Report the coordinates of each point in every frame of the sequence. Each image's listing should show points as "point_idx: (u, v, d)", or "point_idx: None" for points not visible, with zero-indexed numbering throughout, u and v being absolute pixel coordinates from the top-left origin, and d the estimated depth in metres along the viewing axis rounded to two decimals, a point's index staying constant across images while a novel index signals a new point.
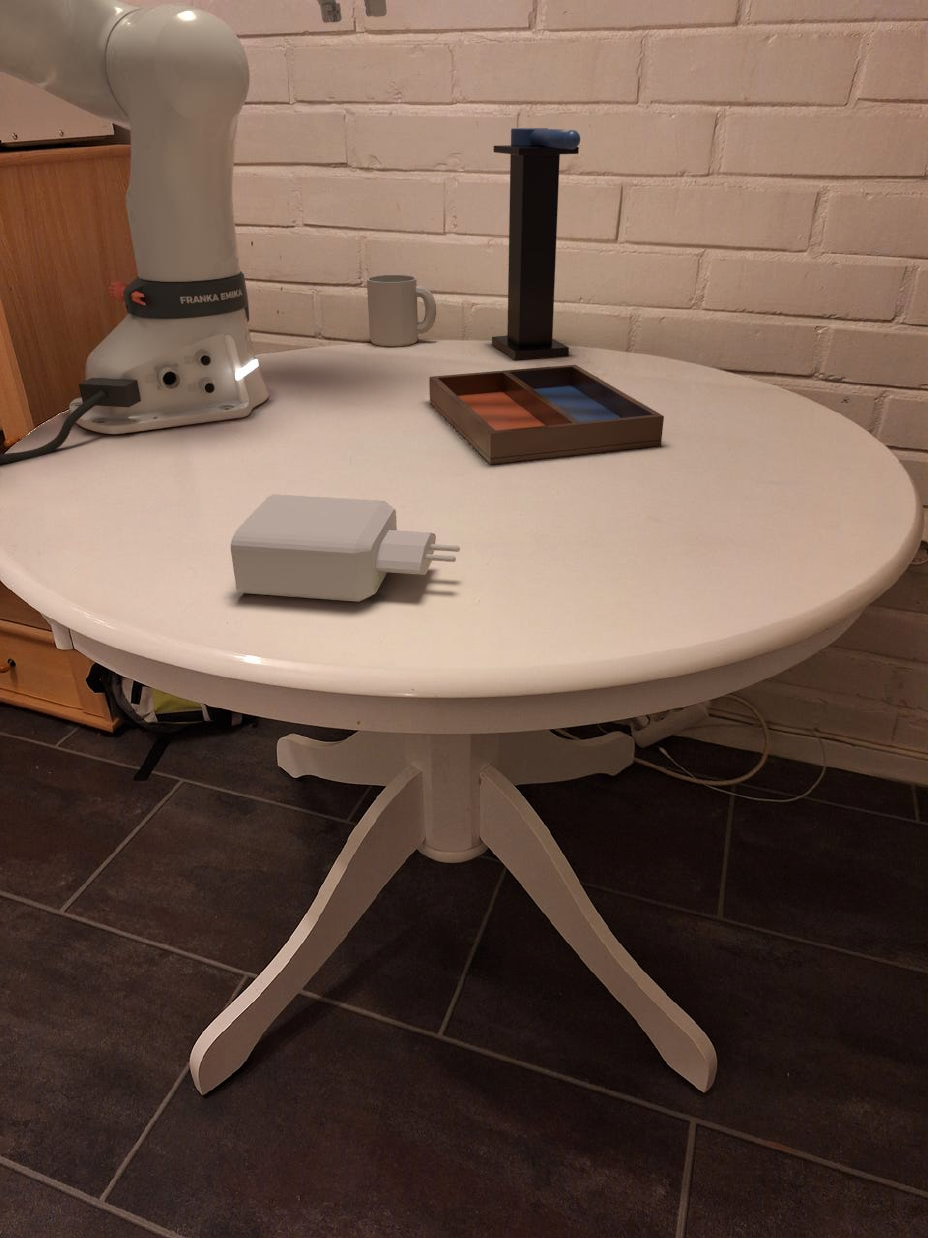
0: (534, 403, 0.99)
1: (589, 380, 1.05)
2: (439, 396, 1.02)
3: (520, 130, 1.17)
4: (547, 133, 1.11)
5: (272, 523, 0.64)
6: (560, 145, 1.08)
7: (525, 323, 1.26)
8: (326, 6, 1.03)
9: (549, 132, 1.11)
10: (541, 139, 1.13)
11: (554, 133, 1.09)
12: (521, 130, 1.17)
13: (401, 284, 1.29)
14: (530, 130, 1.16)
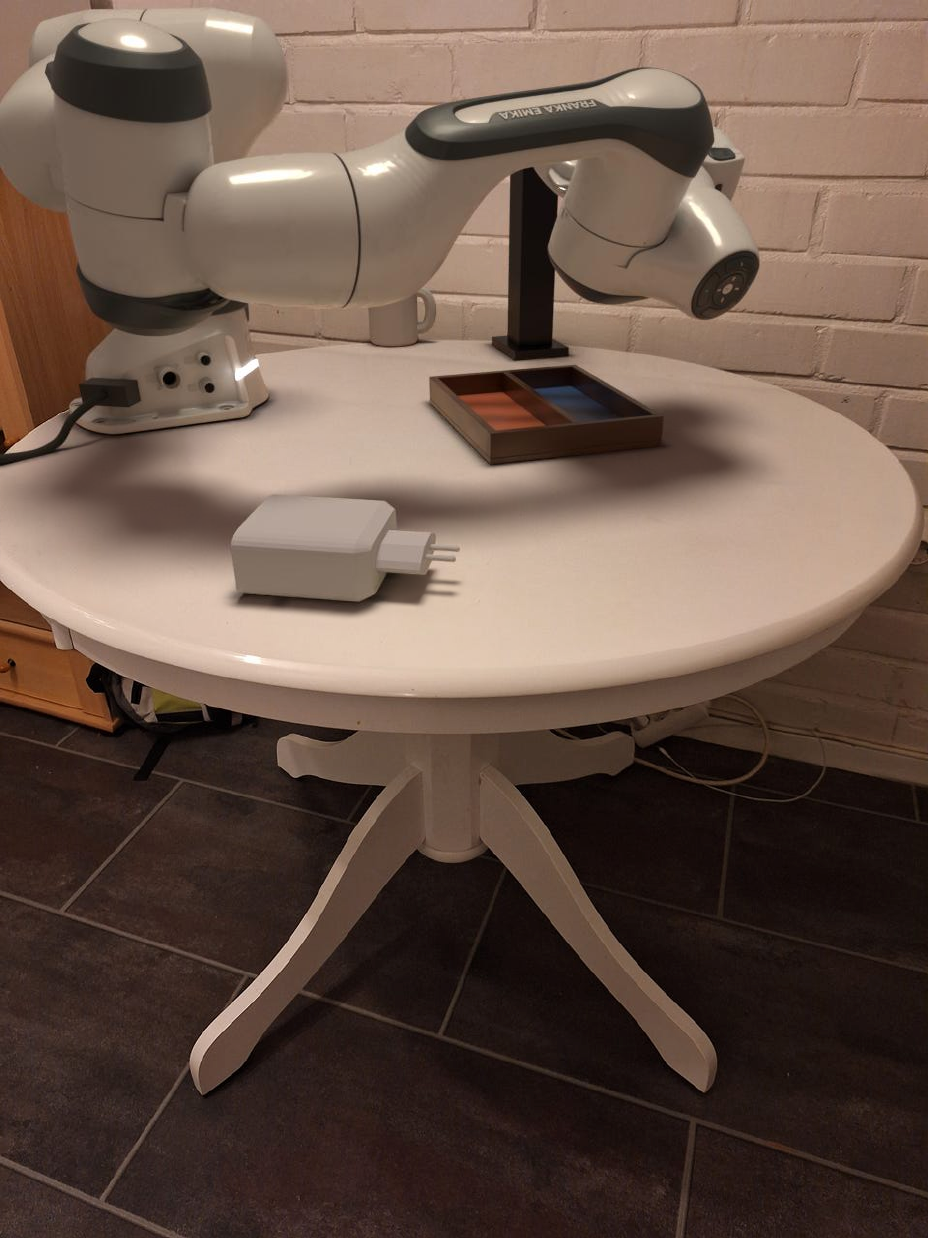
0: (534, 403, 0.99)
1: (589, 380, 1.05)
2: (439, 396, 1.02)
3: None
4: None
5: (272, 523, 0.64)
6: None
7: (525, 323, 1.26)
8: None
9: None
10: None
11: None
12: None
13: None
14: None
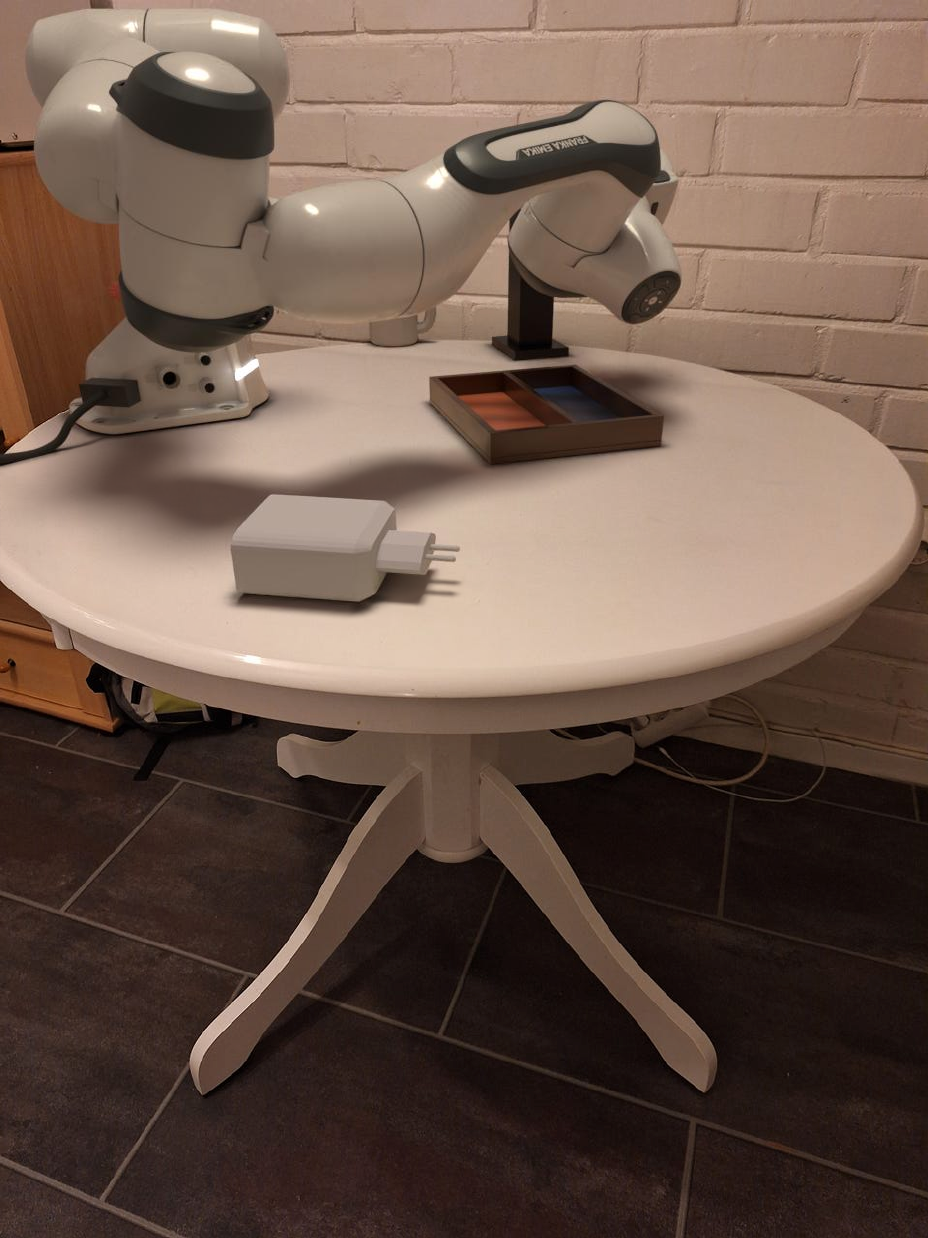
0: (534, 403, 0.99)
1: (589, 380, 1.05)
2: (439, 396, 1.02)
3: None
4: None
5: (272, 523, 0.64)
6: None
7: (525, 323, 1.26)
8: None
9: None
10: None
11: None
12: None
13: None
14: None
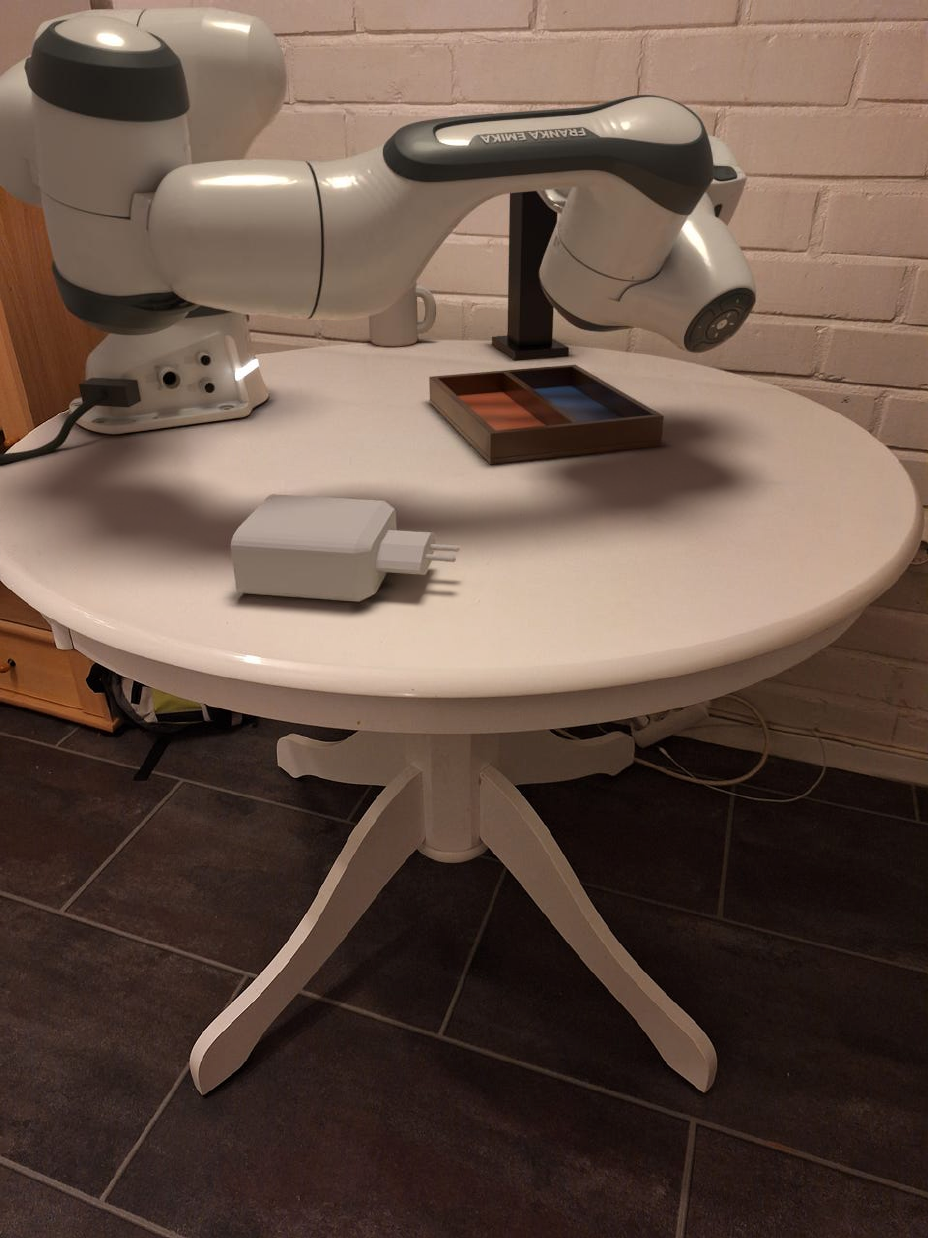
0: (534, 403, 0.99)
1: (589, 380, 1.05)
2: (439, 396, 1.02)
3: None
4: None
5: (272, 523, 0.64)
6: None
7: (525, 323, 1.26)
8: None
9: None
10: None
11: None
12: None
13: None
14: None
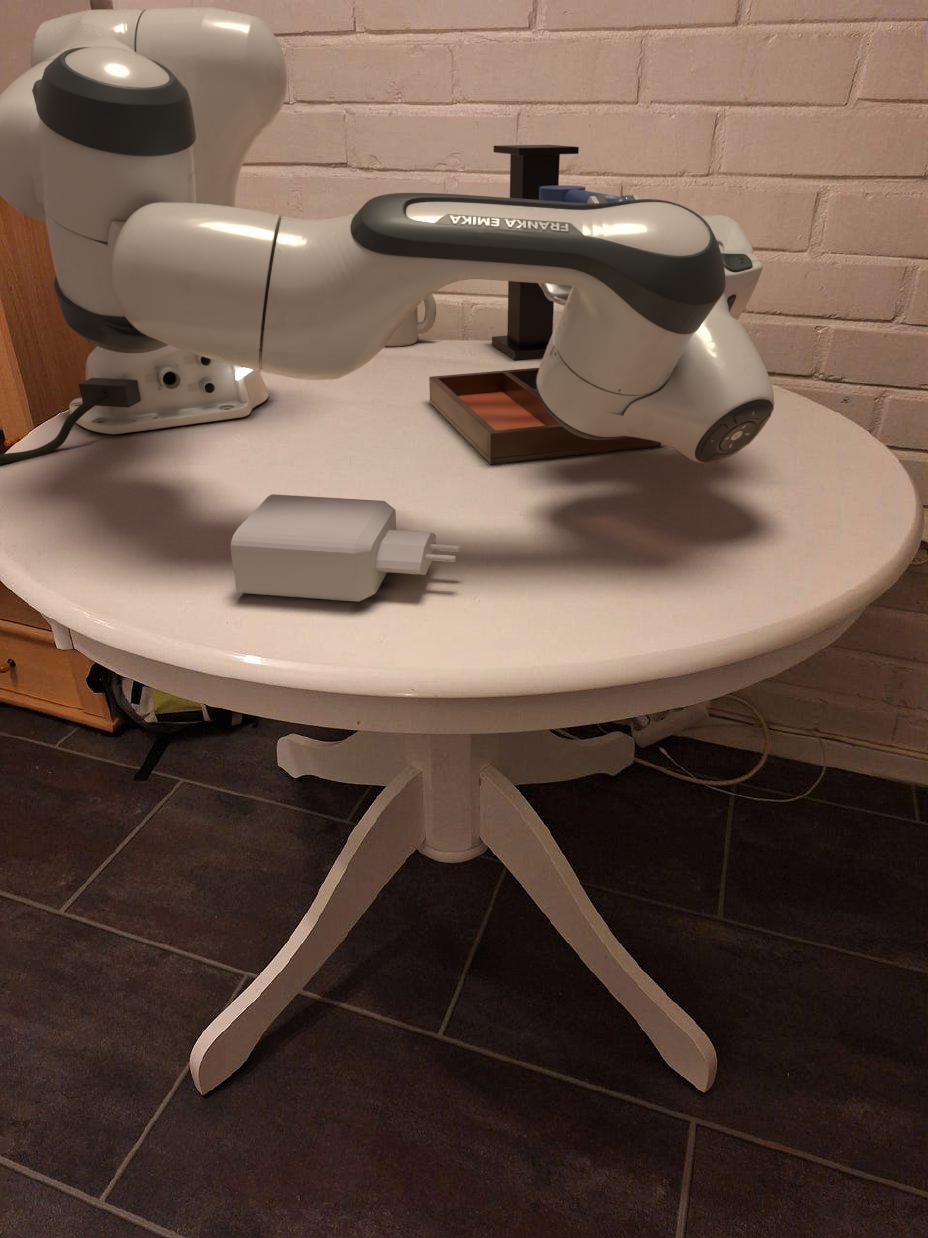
0: (534, 403, 0.99)
1: None
2: (439, 396, 1.02)
3: (551, 190, 0.93)
4: None
5: (272, 523, 0.64)
6: None
7: (525, 323, 1.26)
8: None
9: None
10: None
11: None
12: (552, 190, 0.93)
13: None
14: (564, 190, 0.93)
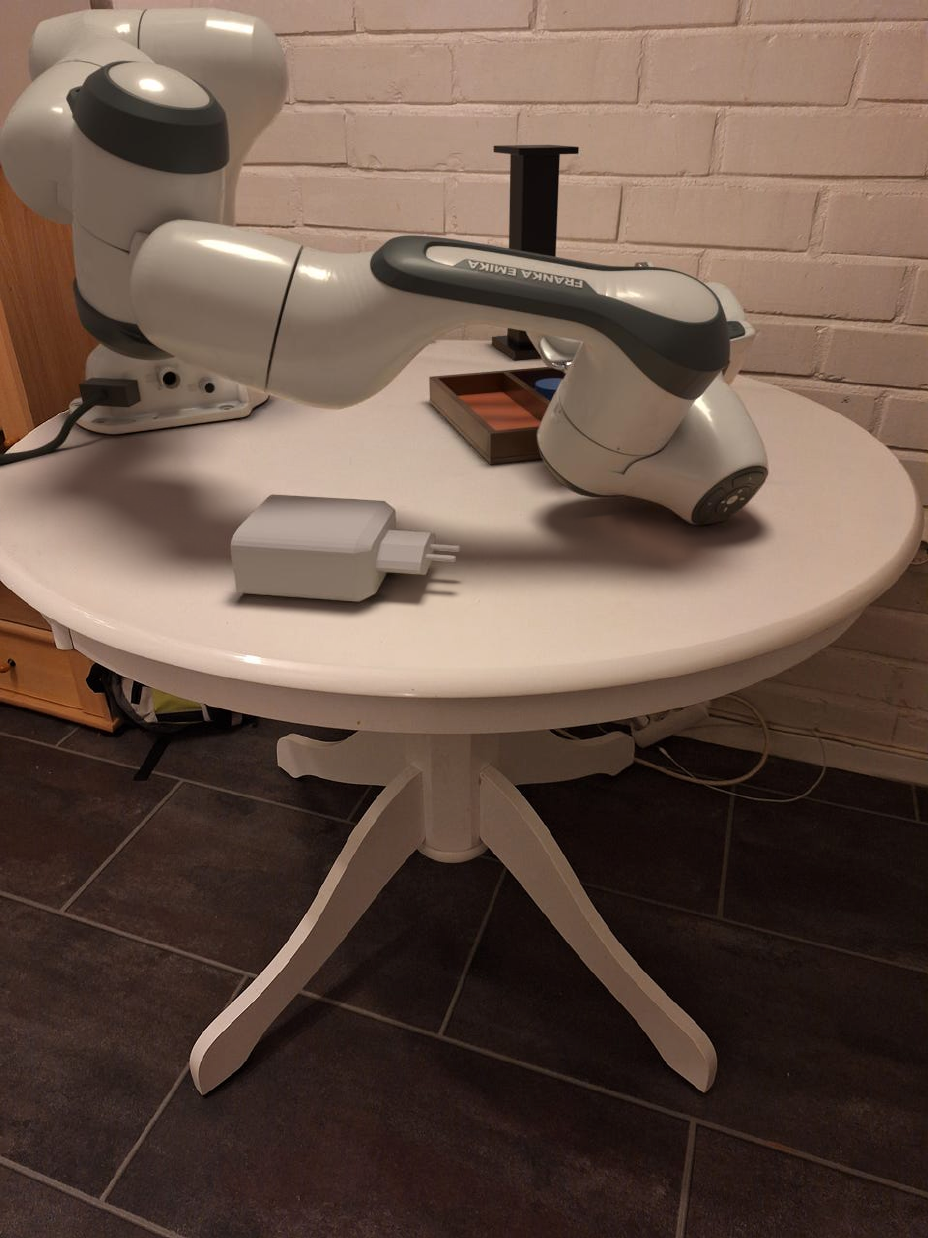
0: (534, 403, 0.99)
1: None
2: (439, 396, 1.02)
3: (546, 390, 1.02)
4: None
5: (272, 523, 0.64)
6: None
7: None
8: None
9: None
10: None
11: None
12: (547, 390, 1.02)
13: None
14: None
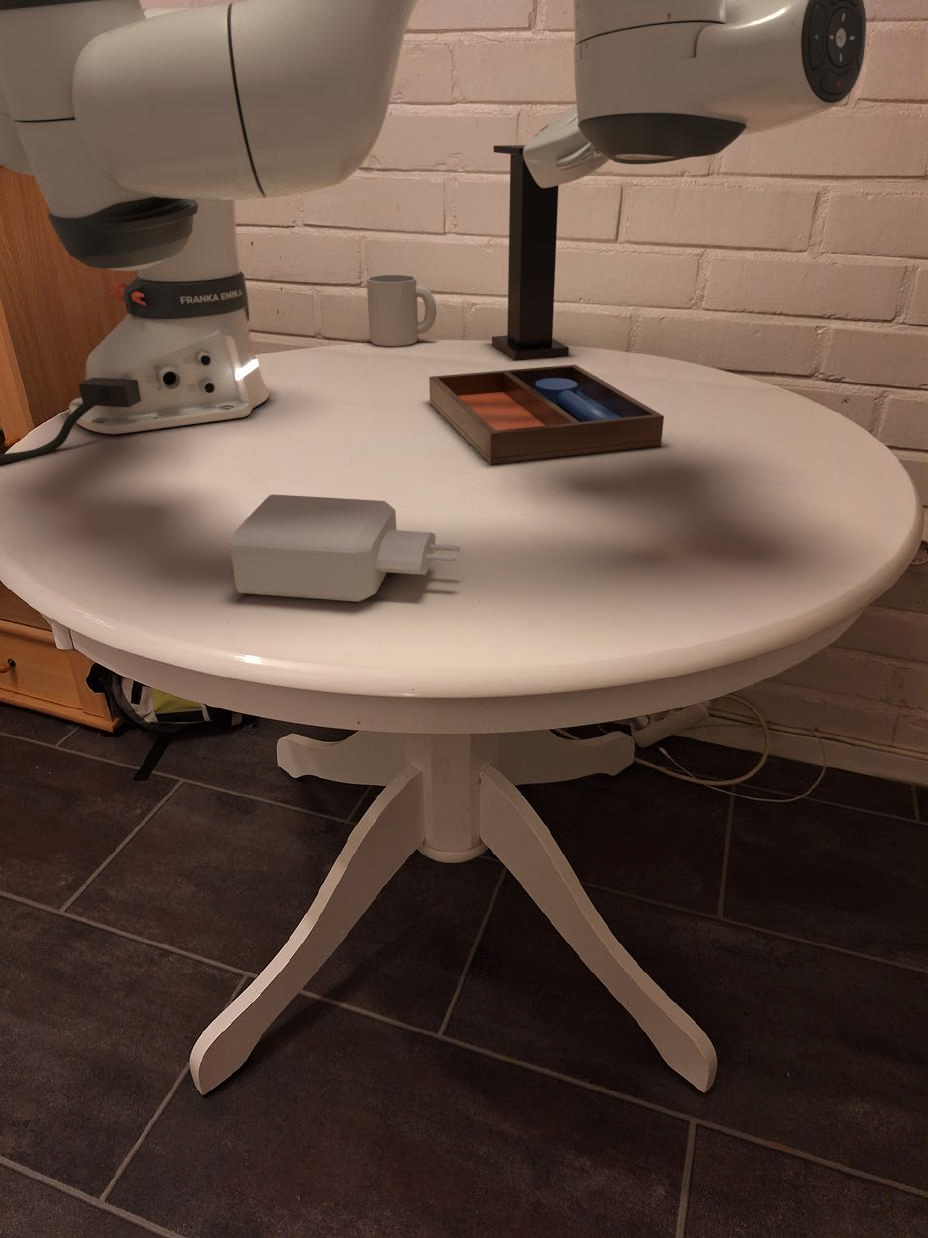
0: (534, 403, 0.99)
1: (589, 380, 1.05)
2: (439, 396, 1.02)
3: (546, 390, 1.02)
4: (579, 408, 0.96)
5: (272, 523, 0.64)
6: None
7: (525, 323, 1.26)
8: None
9: (581, 407, 0.96)
10: (572, 410, 0.98)
11: (588, 414, 0.94)
12: (547, 390, 1.02)
13: (401, 284, 1.29)
14: (558, 390, 1.01)
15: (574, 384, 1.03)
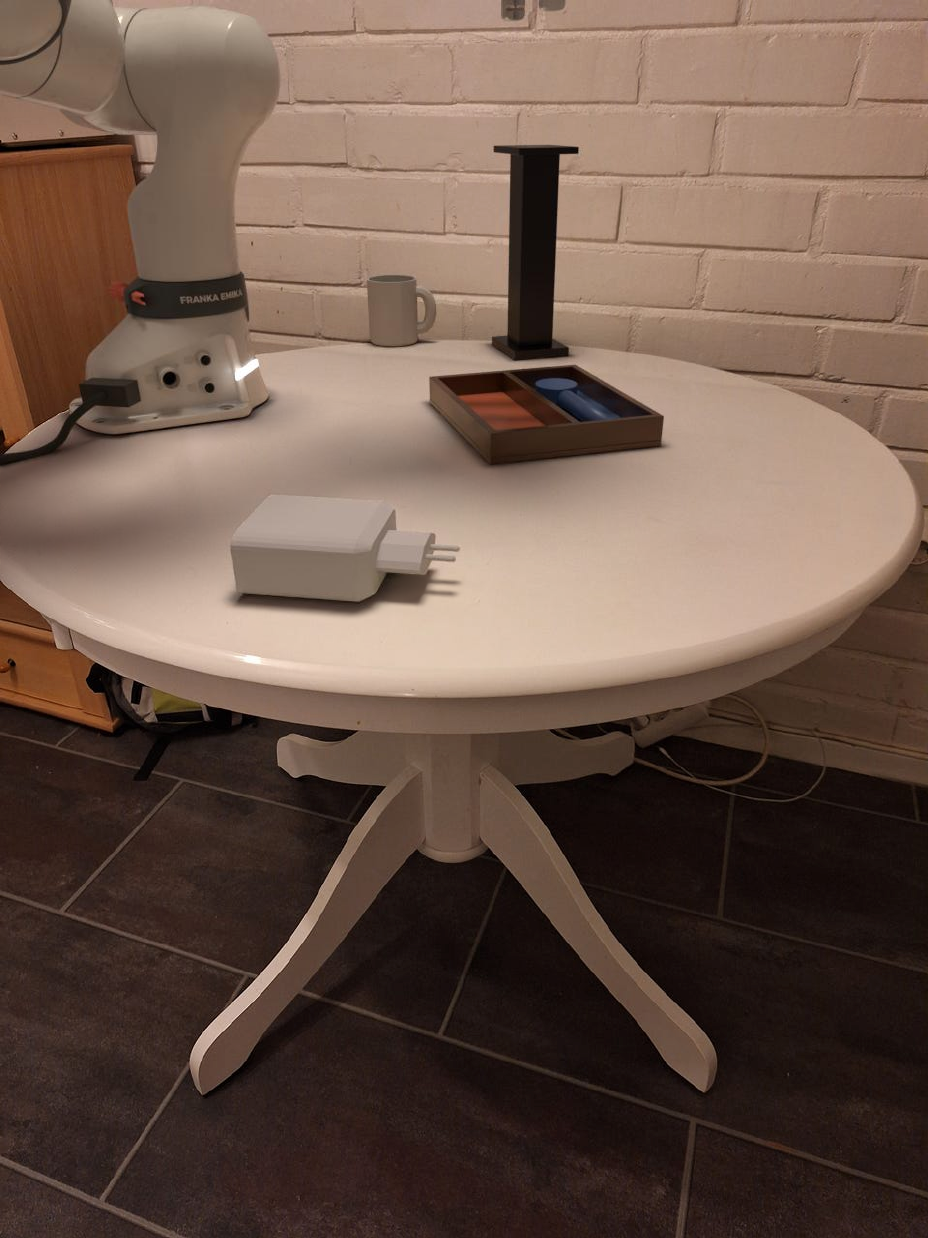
0: (534, 403, 0.99)
1: (589, 380, 1.05)
2: (439, 396, 1.02)
3: (546, 390, 1.02)
4: (579, 408, 0.96)
5: (272, 523, 0.64)
6: None
7: (525, 323, 1.26)
8: None
9: (581, 407, 0.96)
10: (572, 410, 0.98)
11: (588, 414, 0.94)
12: (547, 390, 1.02)
13: (401, 284, 1.29)
14: (558, 390, 1.01)
15: (574, 384, 1.03)
